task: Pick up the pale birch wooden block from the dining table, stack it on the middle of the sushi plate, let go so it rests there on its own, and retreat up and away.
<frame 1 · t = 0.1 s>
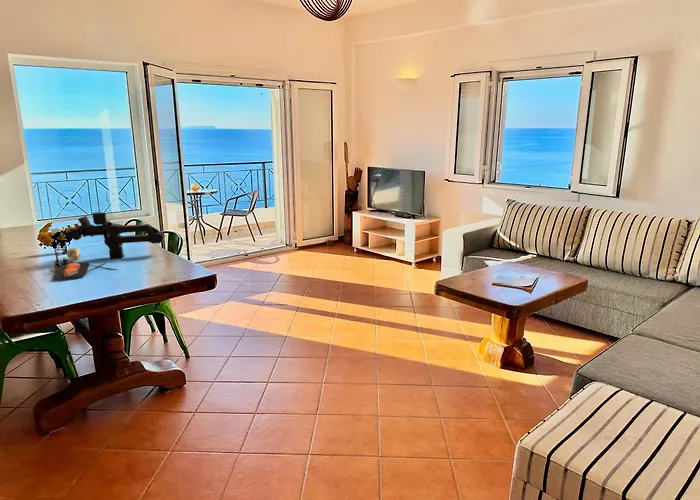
hand: (66, 232, 272), 17 cm above the table, tool horizontal, fingers open, 9 cm apart
beer glass: (62, 253, 293), on the table
sushi plate: (89, 271, 255), on the table
birch block: (74, 259, 278), on the table
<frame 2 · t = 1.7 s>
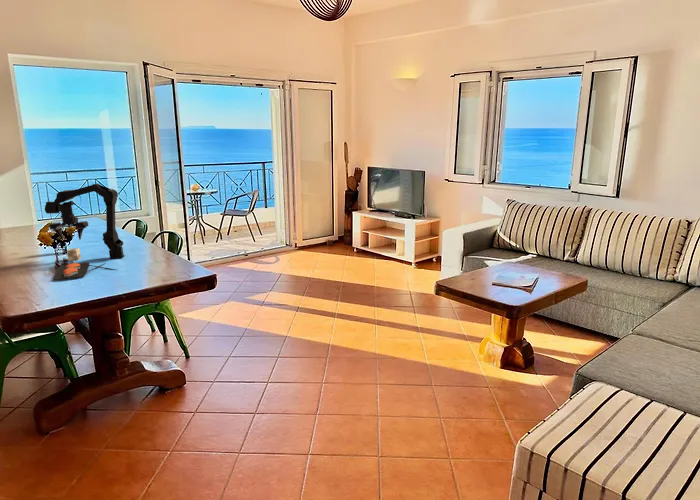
hand: (71, 239, 275), 12 cm above the table, tool pointing down, fingers open, 9 cm apart
nothing on the table moved.
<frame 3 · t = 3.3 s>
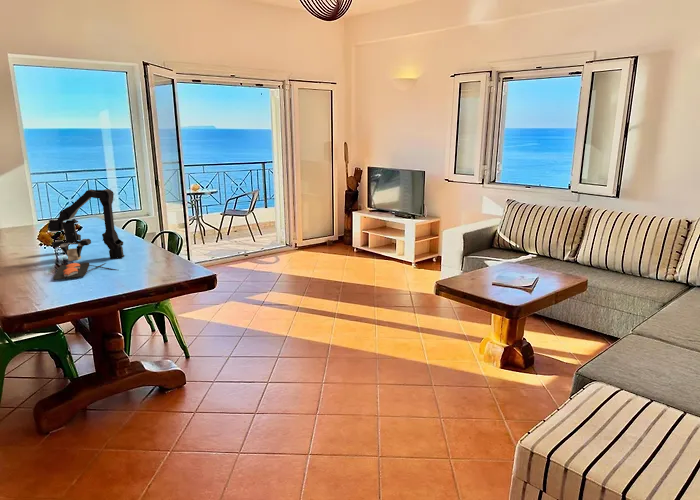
hand: (74, 257, 278), 1 cm above the table, tool pointing down, fingers closed on birch block, 5 cm apart
birch block: (74, 259, 278), on the table, touching gripper
everything else where it was.
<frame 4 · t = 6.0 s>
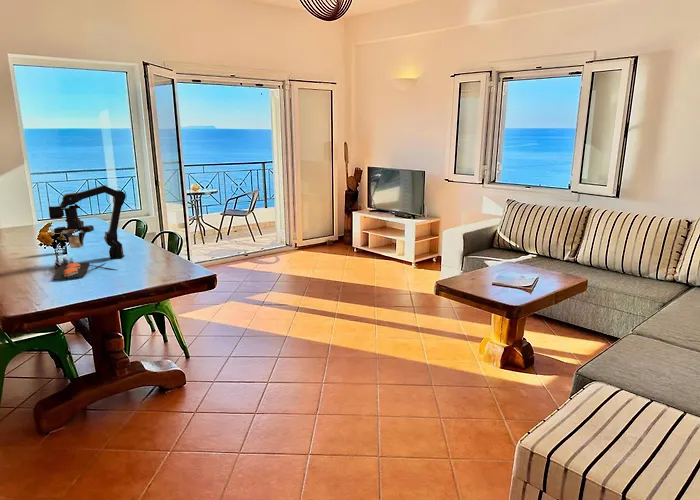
hand: (76, 244, 266), 11 cm above the table, tool pointing down, fingers closed on birch block, 5 cm apart
birch block: (77, 246, 267), point 10 cm above the table, touching gripper
everything else where it was.
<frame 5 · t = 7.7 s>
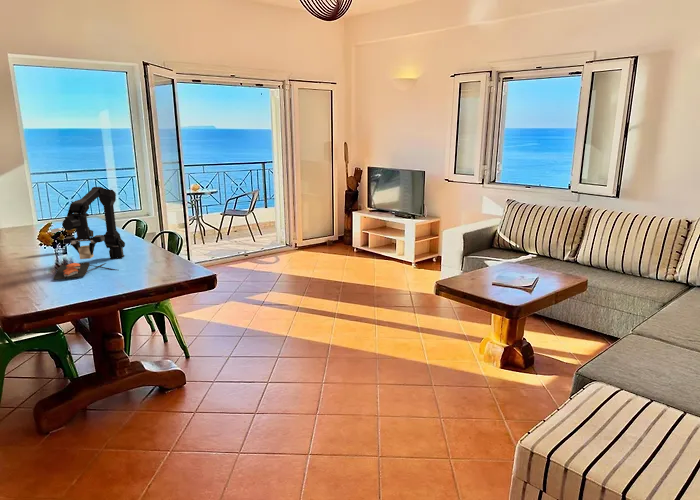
hand: (86, 255, 253), 8 cm above the table, tool pointing down, fingers closed on birch block, 5 cm apart
birch block: (86, 257, 253), point 7 cm above the table, touching gripper
everything else where it was.
when the fingers open (6 cm above the table, at t = 8.8 s): birch block drops 4 cm, resting on sushi plate.
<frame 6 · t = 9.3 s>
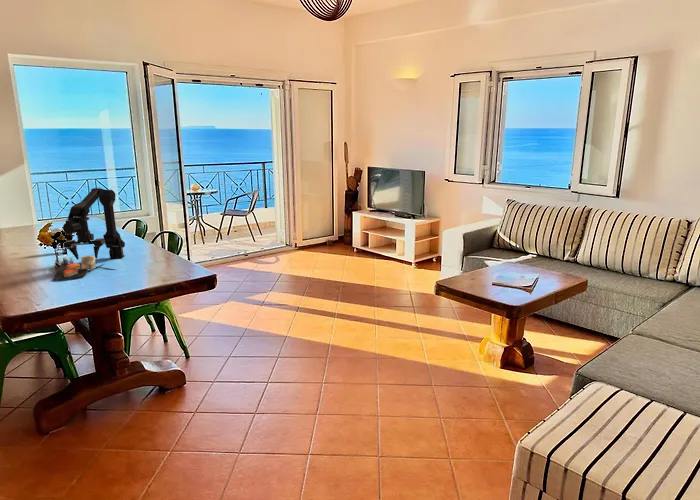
hand: (87, 258, 253), 6 cm above the table, tool pointing down, fingers open, 9 cm apart
sushi plate: (89, 272, 255), on the table, touching birch block
birch block: (88, 267, 254), point 1 cm above the table, tilted 7°, touching sushi plate
everything else where it was.
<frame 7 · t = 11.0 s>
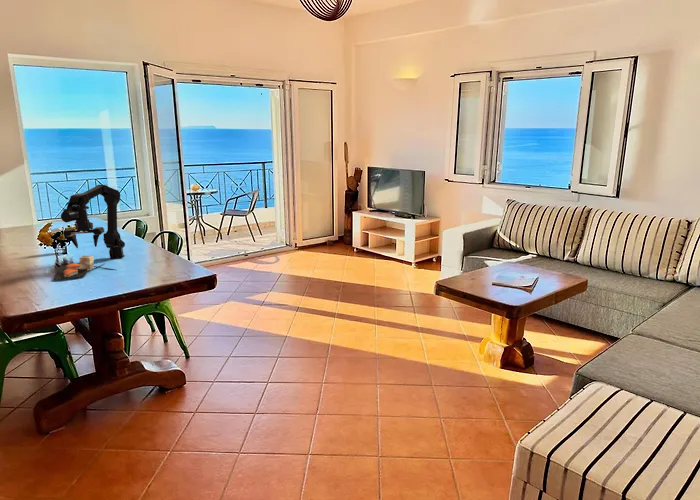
hand: (86, 247, 256), 12 cm above the table, tool pointing down, fingers open, 9 cm apart
nothing on the table moved.
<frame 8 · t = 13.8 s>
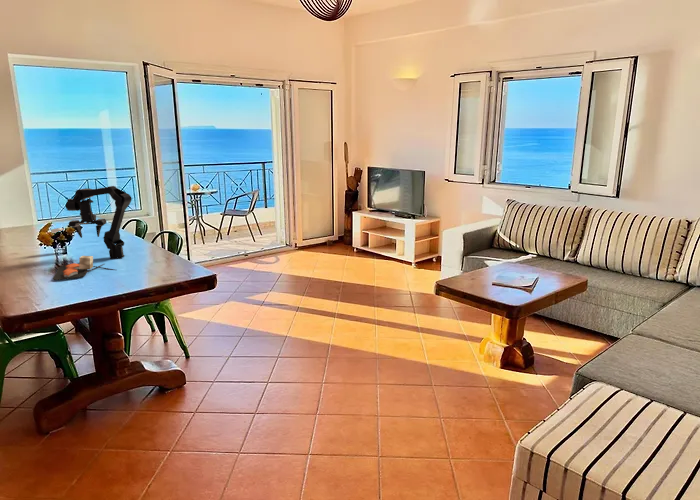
hand: (90, 237, 279), 12 cm above the table, tool pointing down, fingers open, 9 cm apart
nothing on the table moved.
at the end: birch block inside the target area on the sushi plate (1.0 cm from its centre), point 2.6 cm above the sushi plate's base; birch block tilted 8°; the gripper is holding nothing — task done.
